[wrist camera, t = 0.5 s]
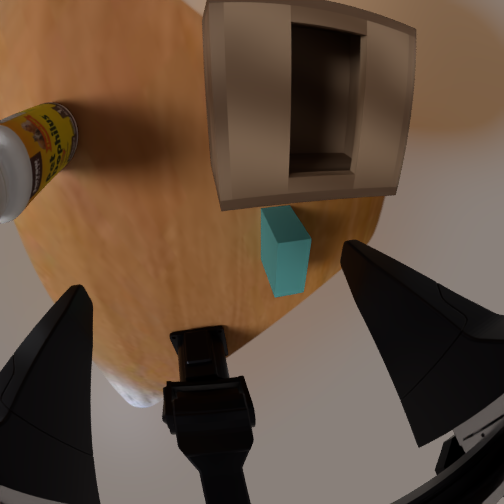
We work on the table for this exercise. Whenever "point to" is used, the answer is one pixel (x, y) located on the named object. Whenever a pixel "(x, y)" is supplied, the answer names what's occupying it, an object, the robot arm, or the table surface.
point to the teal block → (284, 250)
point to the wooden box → (305, 100)
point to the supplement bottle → (33, 154)
